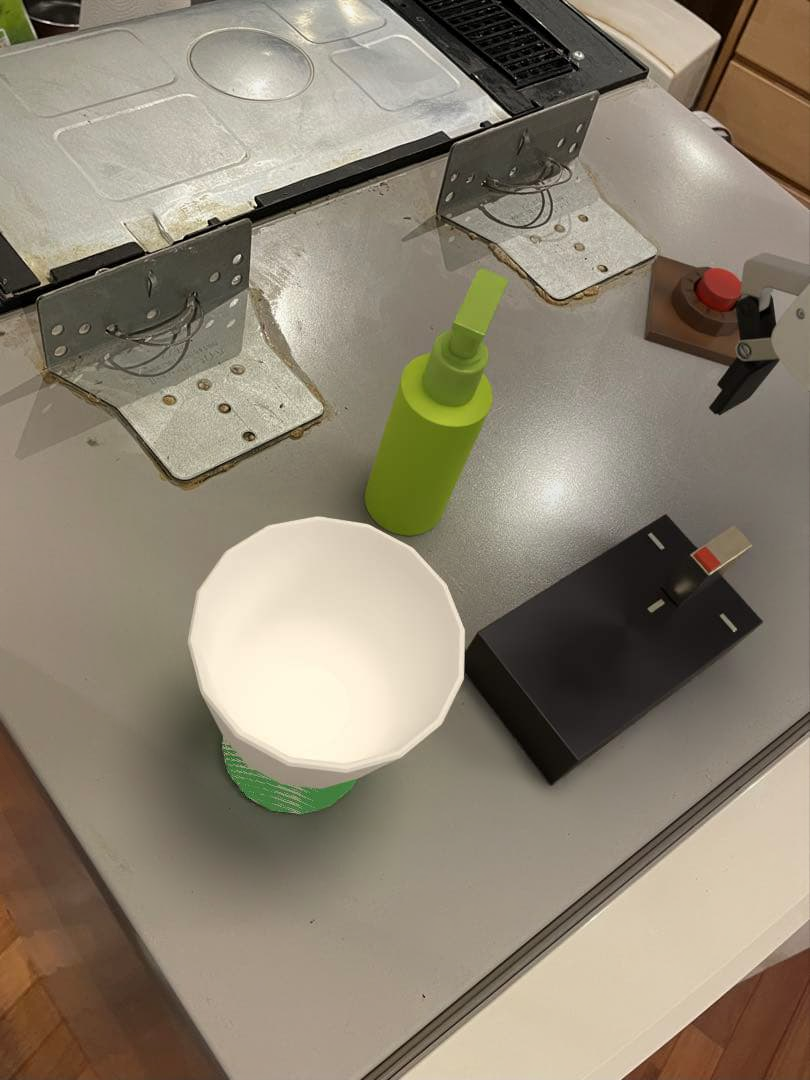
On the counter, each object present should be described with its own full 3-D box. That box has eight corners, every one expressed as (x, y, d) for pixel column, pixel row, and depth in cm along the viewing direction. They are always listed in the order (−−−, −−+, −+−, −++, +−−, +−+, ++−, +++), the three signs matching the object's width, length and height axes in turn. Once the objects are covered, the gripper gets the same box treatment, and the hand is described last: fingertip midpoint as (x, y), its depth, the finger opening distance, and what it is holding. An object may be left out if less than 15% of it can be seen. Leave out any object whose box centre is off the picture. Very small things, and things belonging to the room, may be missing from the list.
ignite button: (695, 277, 88) (704, 262, 87) (733, 289, 88) (743, 275, 87) (693, 305, 86) (703, 290, 85) (732, 317, 86) (742, 303, 85)
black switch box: (654, 537, 75) (684, 501, 71) (744, 639, 72) (782, 608, 68) (456, 663, 67) (477, 630, 62) (550, 786, 63) (579, 760, 59)
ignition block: (652, 263, 92) (666, 239, 89) (753, 296, 92) (769, 272, 90) (644, 340, 86) (658, 316, 84) (751, 373, 87) (768, 351, 84)
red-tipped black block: (703, 557, 69) (736, 522, 65) (721, 577, 68) (755, 542, 65) (660, 586, 67) (692, 552, 63) (678, 607, 66) (711, 573, 62)
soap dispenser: (457, 477, 74) (543, 286, 58) (428, 548, 71) (510, 366, 54) (386, 446, 75) (450, 247, 58) (352, 515, 71) (411, 324, 54)
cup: (417, 844, 60) (490, 760, 47) (185, 866, 56) (192, 783, 43) (387, 637, 66) (444, 513, 53) (178, 646, 63) (183, 515, 50)
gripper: (1205, 345, 41) (934, 550, 56) (899, 91, 47) (724, 338, 61) (1124, 410, 38) (857, 611, 52) (803, 128, 43) (641, 380, 57)
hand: (785, 464), depth 56 cm, fingers open, 9 cm apart
